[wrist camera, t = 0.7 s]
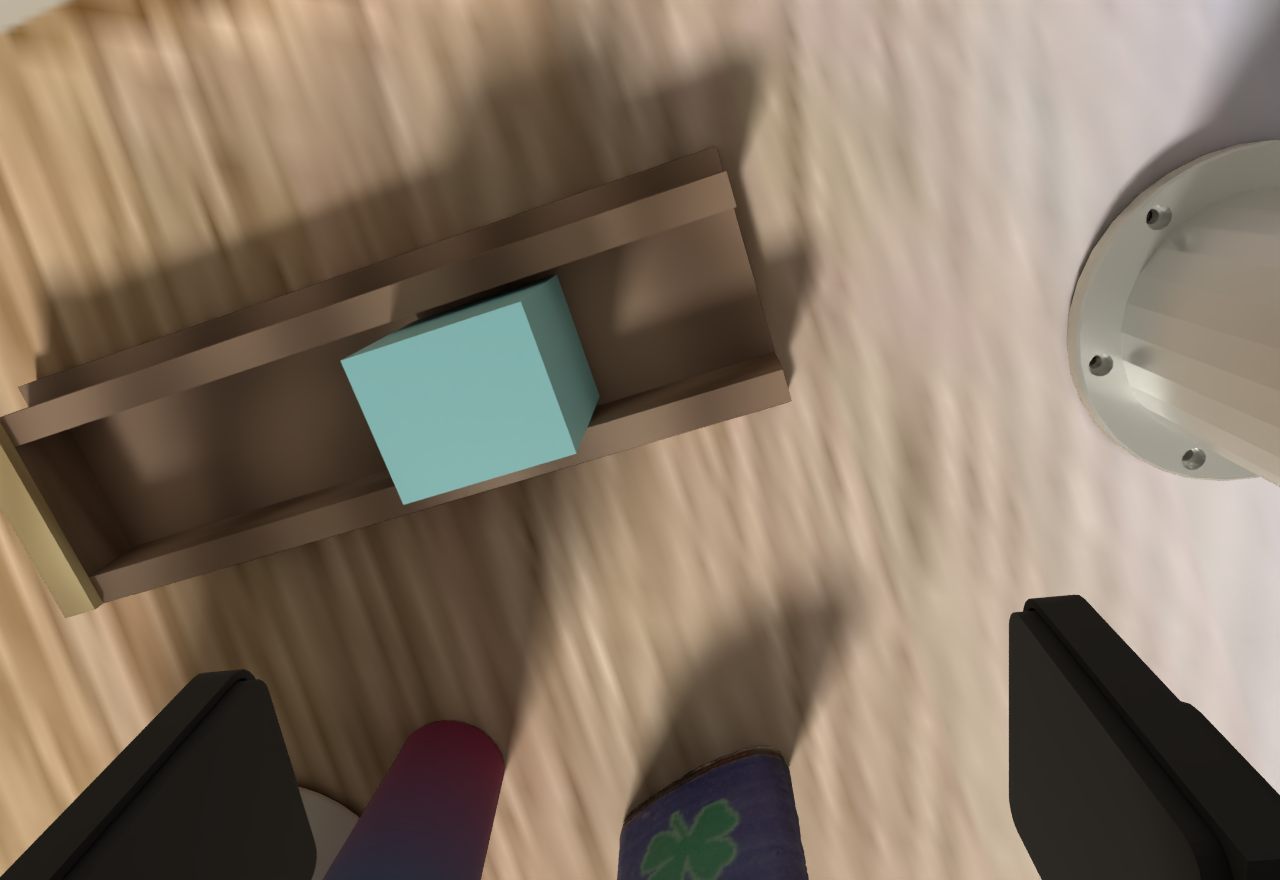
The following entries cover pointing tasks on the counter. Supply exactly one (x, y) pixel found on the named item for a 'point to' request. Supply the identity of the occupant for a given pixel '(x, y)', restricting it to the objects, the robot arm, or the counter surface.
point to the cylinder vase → (327, 827)
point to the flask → (718, 824)
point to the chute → (328, 408)
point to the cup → (428, 810)
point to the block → (476, 390)
